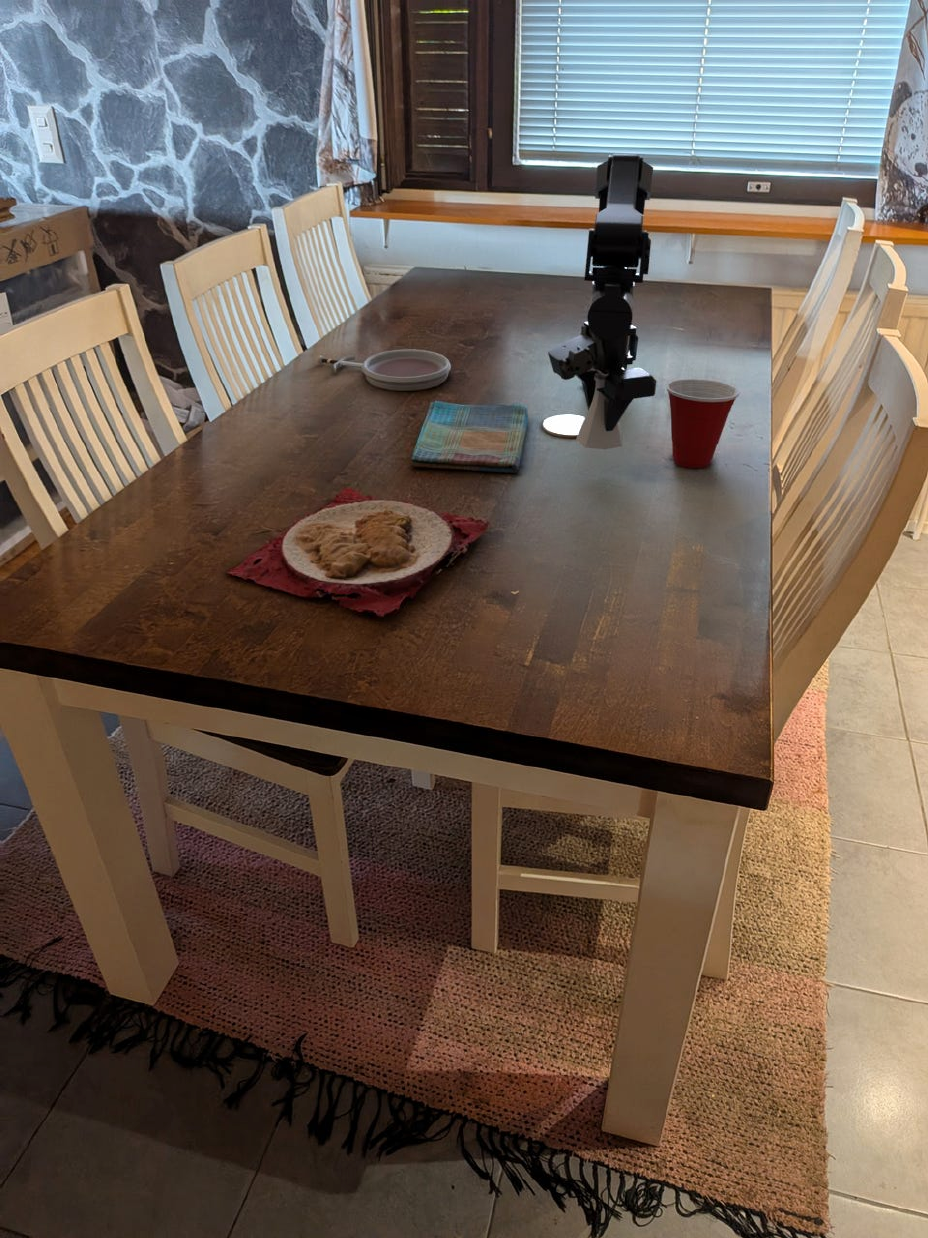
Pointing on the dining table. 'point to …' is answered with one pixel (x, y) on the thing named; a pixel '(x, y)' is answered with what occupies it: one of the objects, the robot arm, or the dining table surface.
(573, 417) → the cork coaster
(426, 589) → the dining table surface
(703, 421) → the plastic cup
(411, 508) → the plate with food
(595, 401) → the flask
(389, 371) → the frying pan
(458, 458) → the dish towel
